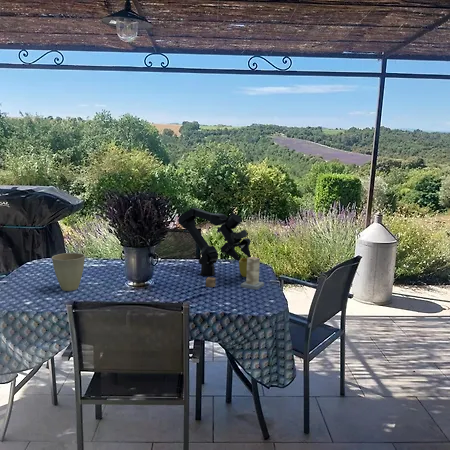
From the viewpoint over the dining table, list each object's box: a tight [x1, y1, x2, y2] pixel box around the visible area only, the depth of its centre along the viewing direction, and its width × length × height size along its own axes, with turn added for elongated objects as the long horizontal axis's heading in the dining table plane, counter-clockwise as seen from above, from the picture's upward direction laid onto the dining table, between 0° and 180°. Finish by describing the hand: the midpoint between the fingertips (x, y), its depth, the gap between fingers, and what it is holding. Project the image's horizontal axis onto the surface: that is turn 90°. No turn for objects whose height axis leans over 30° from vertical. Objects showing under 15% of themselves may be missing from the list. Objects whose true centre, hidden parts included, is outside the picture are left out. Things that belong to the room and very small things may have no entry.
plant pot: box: [51, 252, 86, 292], centre depth 215 cm, size 15×15×16 cm
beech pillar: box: [245, 256, 261, 285], centre depth 227 cm, size 4×4×13 cm
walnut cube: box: [205, 276, 217, 288], centre depth 227 cm, size 4×4×4 cm
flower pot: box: [238, 257, 248, 278], centre depth 246 cm, size 9×9×9 cm
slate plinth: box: [240, 280, 265, 290], centre depth 228 cm, size 9×9×2 cm
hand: (244, 258), depth 230 cm, fingers open, 9 cm apart
